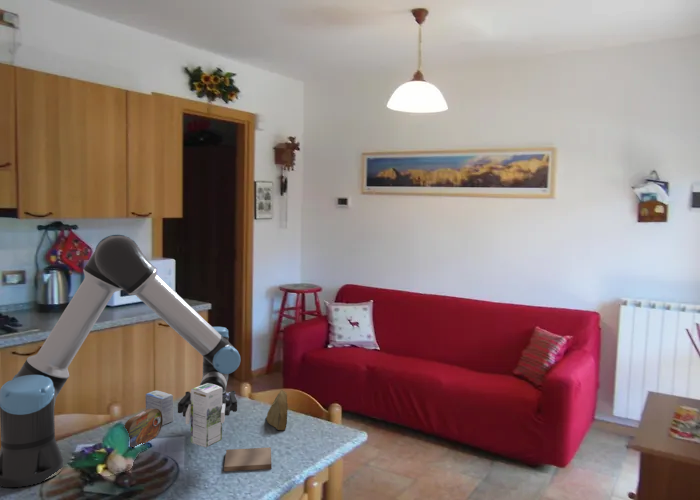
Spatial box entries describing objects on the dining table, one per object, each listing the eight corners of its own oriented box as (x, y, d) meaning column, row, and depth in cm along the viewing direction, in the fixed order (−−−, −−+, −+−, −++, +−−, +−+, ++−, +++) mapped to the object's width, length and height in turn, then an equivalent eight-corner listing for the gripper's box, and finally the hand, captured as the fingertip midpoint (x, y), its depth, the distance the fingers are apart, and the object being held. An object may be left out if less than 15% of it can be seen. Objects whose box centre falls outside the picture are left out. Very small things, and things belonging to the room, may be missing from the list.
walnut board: (224, 471, 142) (224, 466, 142) (226, 453, 152) (226, 449, 152) (271, 468, 144) (271, 464, 144) (270, 451, 154) (270, 447, 154)
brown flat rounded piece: (129, 453, 151) (129, 423, 150) (120, 452, 152) (119, 422, 151) (163, 432, 165) (163, 404, 165) (154, 430, 166) (154, 403, 166)
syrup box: (206, 435, 148) (206, 381, 146) (222, 440, 145) (222, 386, 143) (190, 443, 143) (189, 388, 141) (206, 448, 140) (206, 392, 138)
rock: (294, 424, 167) (300, 408, 177) (276, 403, 166) (283, 388, 175) (266, 443, 169) (273, 425, 179) (249, 421, 168) (257, 405, 178)
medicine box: (173, 421, 174) (173, 394, 173) (162, 426, 170) (161, 398, 169) (157, 416, 178) (156, 389, 177) (145, 420, 174) (145, 393, 173)
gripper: (248, 400, 163) (246, 431, 140) (175, 402, 159) (161, 434, 137) (249, 375, 162) (247, 402, 140) (175, 376, 159) (161, 404, 136)
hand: (204, 418), depth 138 cm, fingers closed on syrup box, 8 cm apart
